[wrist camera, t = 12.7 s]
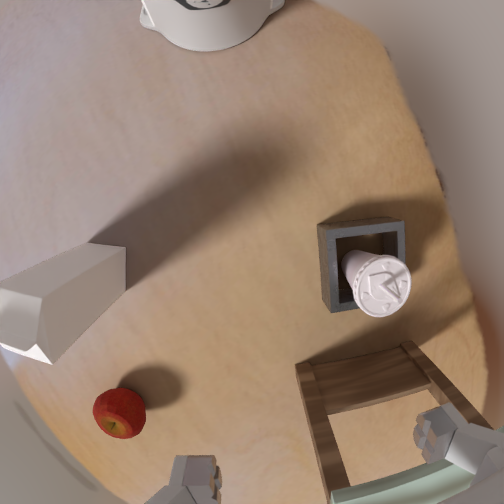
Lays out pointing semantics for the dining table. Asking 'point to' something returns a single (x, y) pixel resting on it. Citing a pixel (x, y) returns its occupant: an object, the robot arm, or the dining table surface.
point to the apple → (120, 413)
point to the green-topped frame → (370, 393)
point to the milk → (59, 299)
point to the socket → (328, 257)
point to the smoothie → (377, 281)
